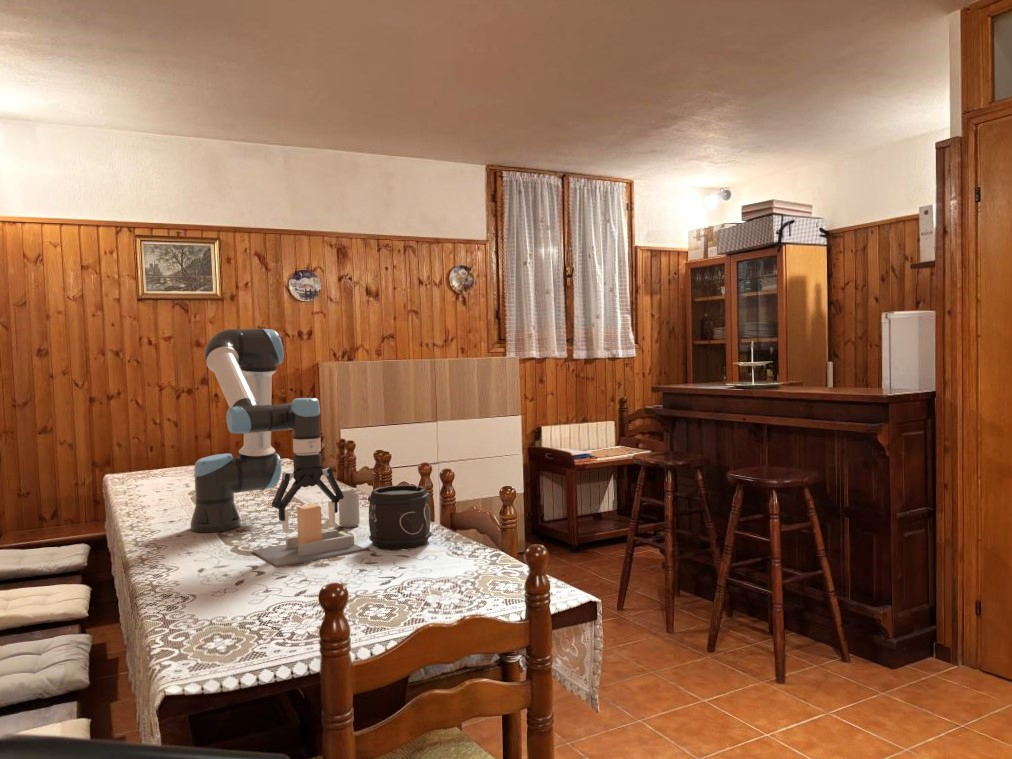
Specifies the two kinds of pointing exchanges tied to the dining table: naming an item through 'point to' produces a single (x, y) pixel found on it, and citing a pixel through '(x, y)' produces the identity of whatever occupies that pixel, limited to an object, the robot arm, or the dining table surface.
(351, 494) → the beverage can
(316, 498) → the dining table surface
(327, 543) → the end holder
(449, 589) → the dining table surface
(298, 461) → the robot arm
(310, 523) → the block
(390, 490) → the wooden barrel
